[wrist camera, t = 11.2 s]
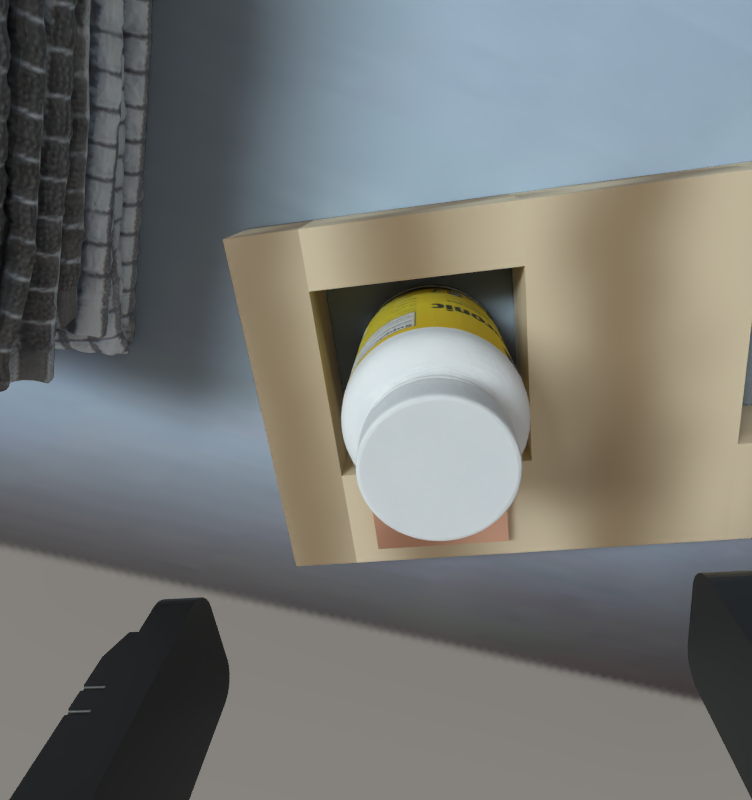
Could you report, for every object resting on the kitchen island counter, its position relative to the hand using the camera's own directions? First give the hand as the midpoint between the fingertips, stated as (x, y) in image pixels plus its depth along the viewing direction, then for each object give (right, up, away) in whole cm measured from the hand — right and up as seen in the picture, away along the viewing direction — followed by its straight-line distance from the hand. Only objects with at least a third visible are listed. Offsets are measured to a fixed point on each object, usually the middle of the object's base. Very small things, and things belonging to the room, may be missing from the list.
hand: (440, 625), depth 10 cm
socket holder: (+8, +5, +13) cm, 16 cm away
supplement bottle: (+1, +6, +13) cm, 15 cm away
